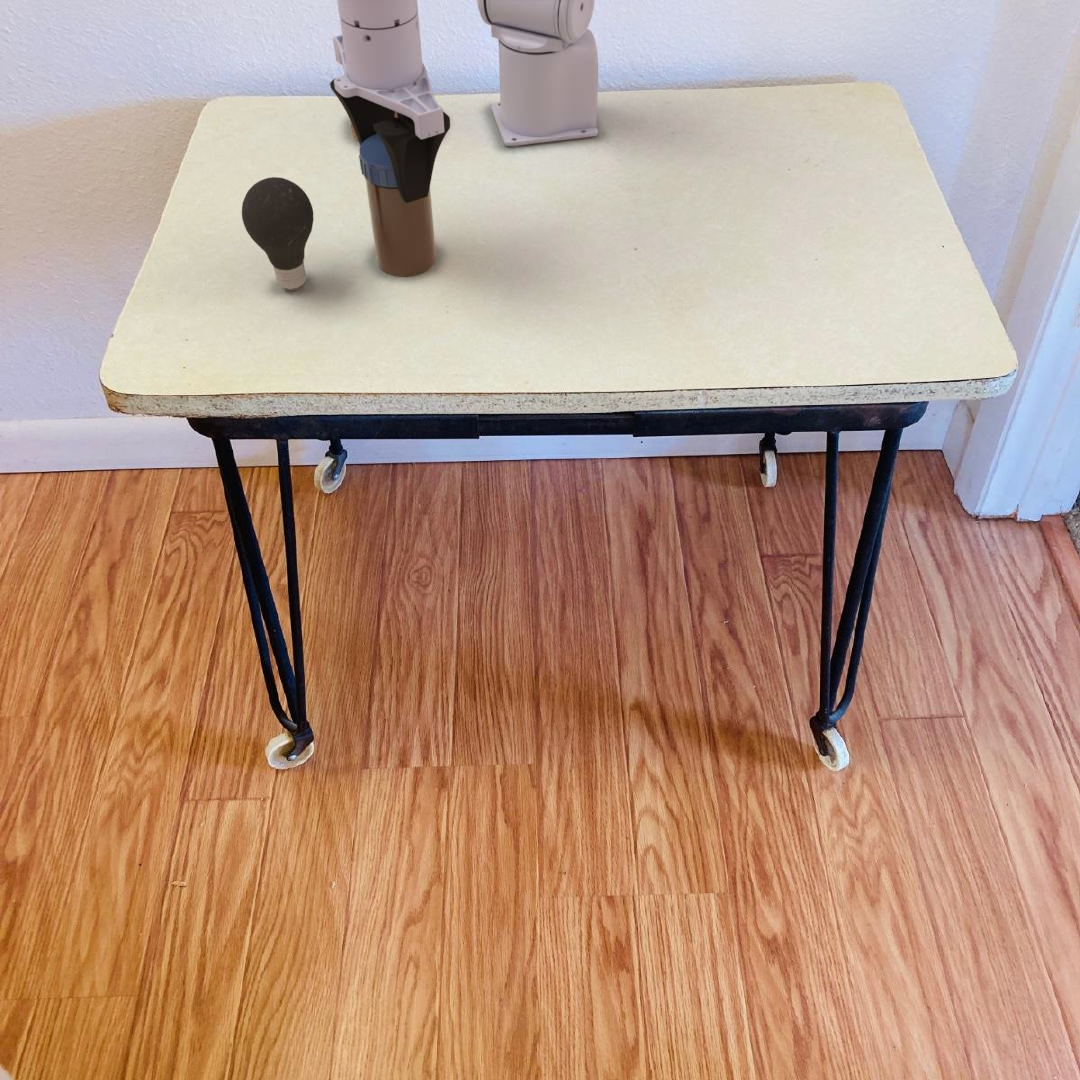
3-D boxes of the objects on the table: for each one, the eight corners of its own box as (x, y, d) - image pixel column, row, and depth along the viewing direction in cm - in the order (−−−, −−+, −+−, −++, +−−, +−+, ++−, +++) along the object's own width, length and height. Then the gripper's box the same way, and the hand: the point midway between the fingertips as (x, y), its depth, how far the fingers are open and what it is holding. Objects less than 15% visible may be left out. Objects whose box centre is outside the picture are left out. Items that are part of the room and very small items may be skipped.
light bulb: (333, 269, 94) (314, 164, 87) (318, 309, 91) (297, 204, 83) (269, 265, 95) (245, 161, 87) (252, 305, 91) (225, 200, 83)
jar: (431, 238, 97) (421, 133, 90) (440, 272, 94) (431, 166, 86) (373, 245, 97) (359, 140, 89) (380, 280, 93) (366, 174, 86)
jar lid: (425, 147, 91) (424, 126, 89) (436, 183, 87) (434, 162, 86) (357, 154, 90) (355, 134, 89) (365, 192, 87) (362, 171, 85)
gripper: (287, -12, 82) (316, 154, 92) (374, 66, 74) (395, 238, 84) (371, -33, 84) (390, 130, 94) (464, 40, 76) (473, 210, 87)
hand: (397, 179), depth 89 cm, fingers open, 6 cm apart
